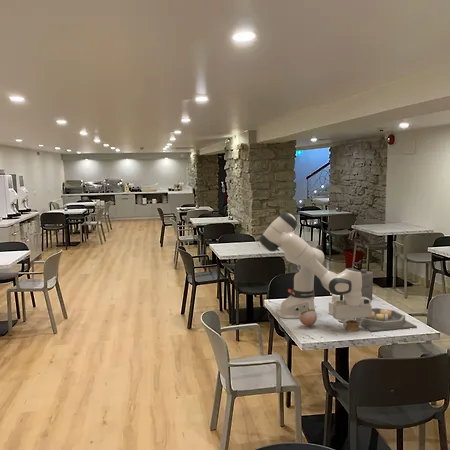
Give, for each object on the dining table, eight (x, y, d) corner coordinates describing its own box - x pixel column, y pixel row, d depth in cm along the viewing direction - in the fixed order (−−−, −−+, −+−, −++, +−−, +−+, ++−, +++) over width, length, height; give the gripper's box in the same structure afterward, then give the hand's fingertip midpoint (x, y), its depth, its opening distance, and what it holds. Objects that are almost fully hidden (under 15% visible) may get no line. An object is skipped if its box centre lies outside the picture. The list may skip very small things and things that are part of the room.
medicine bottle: (335, 311, 261) (335, 291, 259) (346, 314, 256) (346, 293, 254) (328, 314, 256) (328, 293, 254) (339, 317, 251) (339, 296, 249)
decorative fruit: (308, 330, 229) (308, 311, 228) (296, 326, 236) (296, 308, 235) (320, 327, 235) (320, 308, 234) (309, 323, 241) (309, 304, 240)
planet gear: (349, 332, 227) (349, 324, 226) (343, 327, 233) (343, 320, 233) (360, 330, 228) (360, 323, 228) (354, 326, 234) (354, 319, 234)
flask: (357, 303, 277) (358, 271, 275) (350, 301, 282) (351, 269, 280) (375, 299, 284) (375, 268, 282) (368, 297, 289) (368, 267, 287)
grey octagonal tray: (370, 332, 226) (370, 320, 226) (346, 316, 251) (346, 306, 251) (416, 328, 232) (417, 316, 231) (388, 313, 257) (388, 302, 256)
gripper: (336, 302, 224) (335, 329, 225) (373, 300, 228) (373, 326, 229) (330, 299, 230) (330, 325, 231) (367, 296, 234) (366, 322, 236)
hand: (352, 326), depth 230 cm, fingers open, 6 cm apart
